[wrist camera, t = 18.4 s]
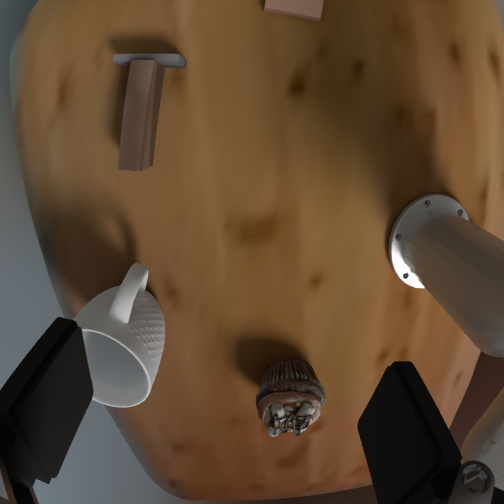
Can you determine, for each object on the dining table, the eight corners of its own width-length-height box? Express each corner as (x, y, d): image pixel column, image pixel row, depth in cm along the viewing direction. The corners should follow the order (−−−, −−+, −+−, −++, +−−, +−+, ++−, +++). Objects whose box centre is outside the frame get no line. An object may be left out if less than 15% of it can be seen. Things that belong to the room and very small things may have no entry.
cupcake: (260, 403, 47) (262, 453, 38) (251, 358, 44) (251, 412, 35) (321, 394, 47) (331, 444, 38) (319, 349, 43) (333, 401, 34)
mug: (114, 229, 37) (60, 276, 25) (196, 263, 38) (173, 326, 26) (94, 322, 42) (54, 382, 30) (164, 351, 43) (141, 420, 31)
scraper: (187, 61, 30) (178, 53, 26) (172, 167, 34) (161, 173, 30) (127, 60, 29) (111, 53, 25) (115, 162, 34) (98, 167, 30)
